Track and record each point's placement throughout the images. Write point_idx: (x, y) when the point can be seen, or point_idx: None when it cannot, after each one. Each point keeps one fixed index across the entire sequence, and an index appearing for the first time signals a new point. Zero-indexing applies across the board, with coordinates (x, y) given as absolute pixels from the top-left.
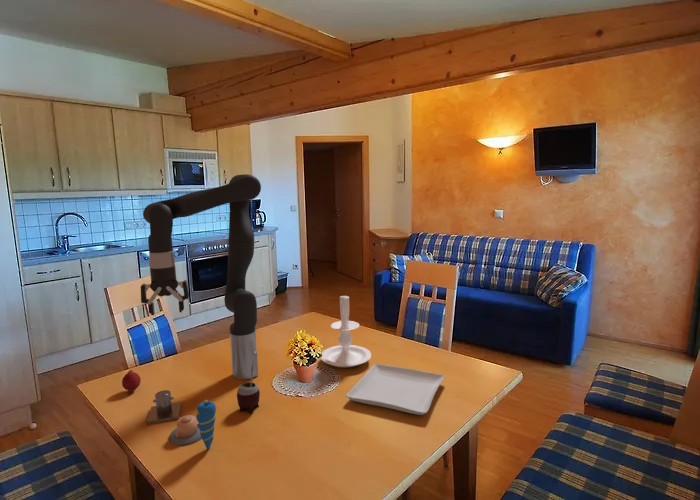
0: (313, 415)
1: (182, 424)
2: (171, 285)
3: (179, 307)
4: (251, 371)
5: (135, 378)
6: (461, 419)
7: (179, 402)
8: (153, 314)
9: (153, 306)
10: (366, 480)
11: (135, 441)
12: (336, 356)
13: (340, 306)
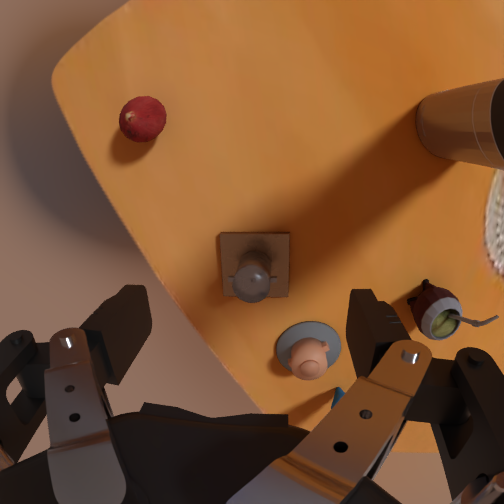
0: (493, 341)
1: (302, 377)
2: None
3: (356, 361)
4: (471, 323)
5: (151, 130)
6: None
7: (285, 236)
8: (150, 331)
9: (120, 334)
10: None
11: (217, 339)
12: None
13: None
